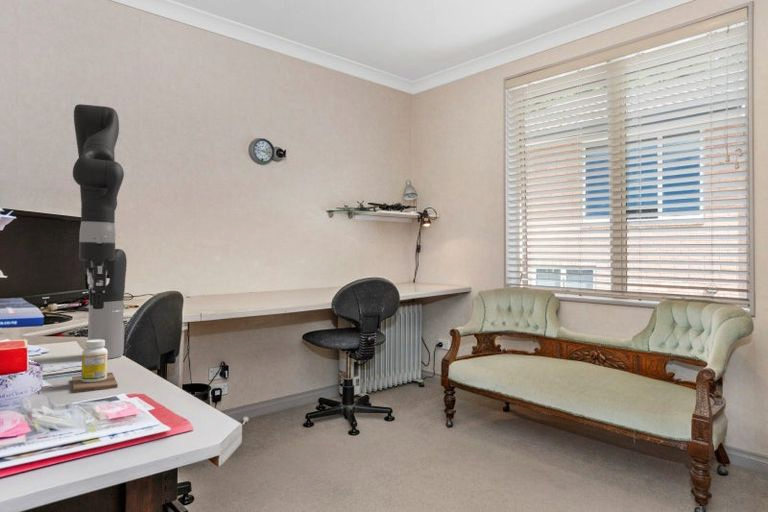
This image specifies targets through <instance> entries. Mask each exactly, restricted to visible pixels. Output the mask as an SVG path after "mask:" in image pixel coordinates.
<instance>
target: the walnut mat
mask: <svg viewBox="0 0 768 512" xmlns="http://www.w3.org/2000/svg"><path fill="white" fill-rule="evenodd" d="M71 379H72V388H73V389H72V390H73V393H75V394H76V393H82V392H92V391H93V392H94V391H100V390H108V389H117V388H118V382H117V380H116V377H115V376H114V374H113V372H107V378H106V379H105V380H103V381H100V382H92V383H86V382H83V381H82V380H81V375H78V376H77V375H75V376H72V378H71Z"/></svg>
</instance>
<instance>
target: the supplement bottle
mask: <svg viewBox="0 0 768 512" xmlns="http://www.w3.org/2000/svg"><path fill="white" fill-rule="evenodd" d="M104 346H105V340H101V339H96V340H88V339H87V340H86V341H85V348H86V349H84V350H83V351H82V353H81V375H80V376H81V380H82V381H83V382H86V383H92V382H100V381H103V380H105V379H106V378H107V373H108V351H107V349H106V348H104Z"/></svg>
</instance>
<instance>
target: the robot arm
mask: <svg viewBox="0 0 768 512" xmlns="http://www.w3.org/2000/svg"><path fill="white" fill-rule="evenodd" d="M73 126H74V132H75V139H76V145H77V146H76V147H77V154H78V158H77V160H76V161H75V162H74V165H73V168H72V177H73V180H74V182H75V183H76V184H77V185H79V188H80V189H79V190H80V201H81V204H80V205H81V209H80V211H81V212H80V228H79V242H78V243H79V249H78V258H79V260H80V261H82V263H83V271H84V274H85V275H86V276H87V287H88V291H89V294H88V318H87V319H88V325H87V326H88V327H87V330H88V331H87V341H88V340H96V339H101V340H105V346H104V348H106V349H107V351H108V359H114V358H115V359H116V358H120V357H122V356H123V354H124V352H125V351H124V350H125V324H124V303H125V299H124V297H125V290H126V276H127V264H128V263H127V262H128V259H127V254H126V253H125V251H124V250H123V249H120V248H116V225H115V222H116V221H115V217H116V216H115V214H116V209H117V207H118V195H119V191H120V189H121V186H122V184H123V181H124V176H125V172H124V168H123V166H122V165H121V164H120V163H119V162H117V161H116V159H115V158H116V157H115V147H116V144H117V141H118V138H119V134H120V133H119V132H120V120H119V115H118V113H117V111H116V109H114V108H113V107H111V106H110V107H109V106H101V105H91V104H84V103H83V104H76V105H75V106H74V109H73ZM108 279H109V280H108ZM107 280H108V281H107ZM107 282H108V283H107Z"/></svg>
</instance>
